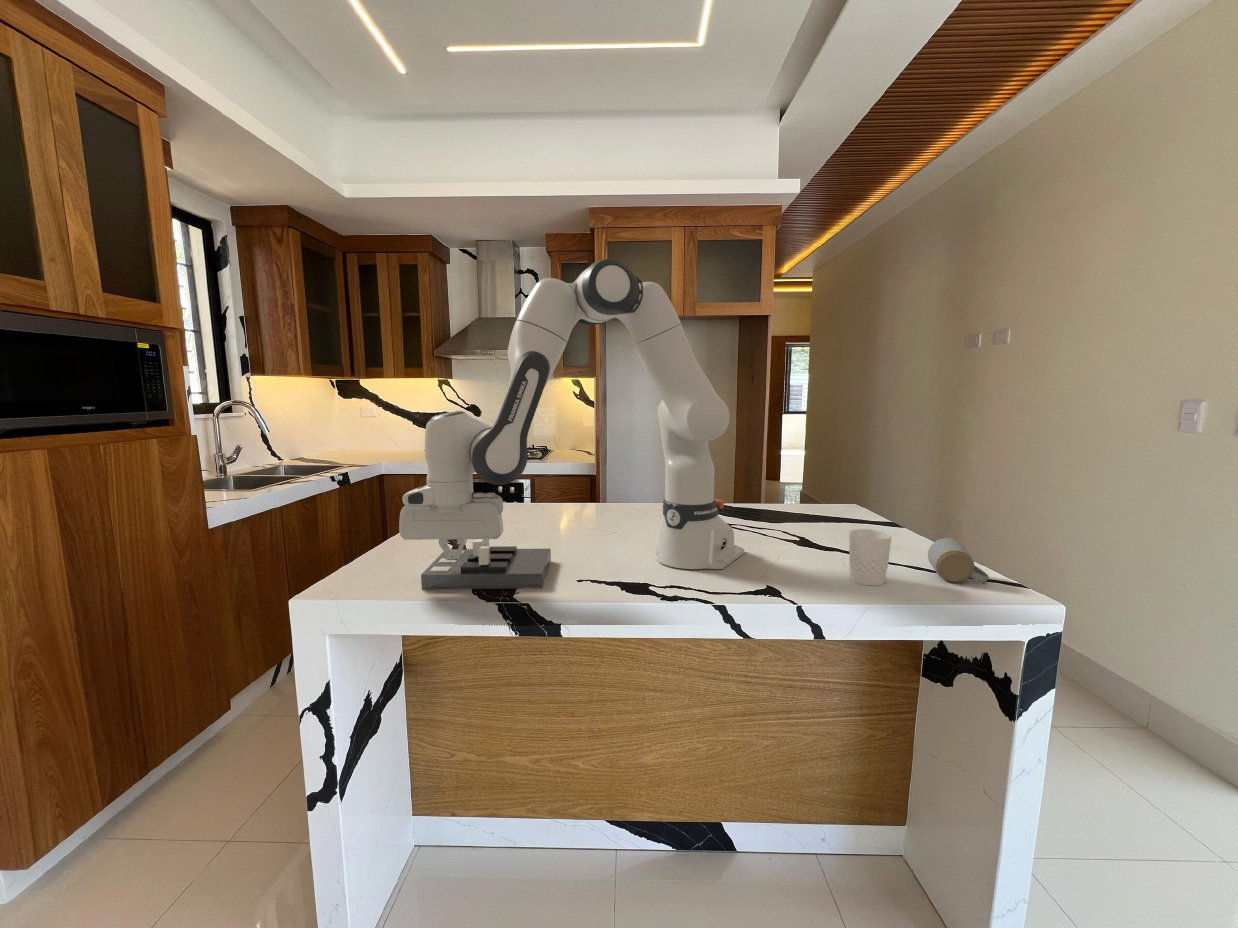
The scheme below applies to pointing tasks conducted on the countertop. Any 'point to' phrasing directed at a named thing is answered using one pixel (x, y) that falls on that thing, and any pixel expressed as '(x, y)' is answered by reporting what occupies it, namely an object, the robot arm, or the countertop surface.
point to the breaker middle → (477, 546)
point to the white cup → (869, 556)
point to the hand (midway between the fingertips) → (453, 559)
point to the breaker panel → (489, 570)
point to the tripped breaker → (484, 555)
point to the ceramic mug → (954, 561)
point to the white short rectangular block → (486, 542)
